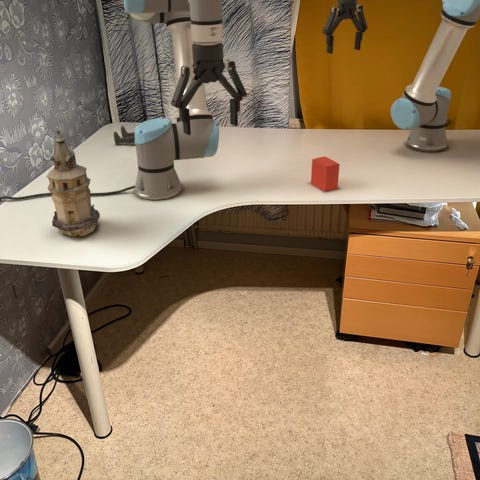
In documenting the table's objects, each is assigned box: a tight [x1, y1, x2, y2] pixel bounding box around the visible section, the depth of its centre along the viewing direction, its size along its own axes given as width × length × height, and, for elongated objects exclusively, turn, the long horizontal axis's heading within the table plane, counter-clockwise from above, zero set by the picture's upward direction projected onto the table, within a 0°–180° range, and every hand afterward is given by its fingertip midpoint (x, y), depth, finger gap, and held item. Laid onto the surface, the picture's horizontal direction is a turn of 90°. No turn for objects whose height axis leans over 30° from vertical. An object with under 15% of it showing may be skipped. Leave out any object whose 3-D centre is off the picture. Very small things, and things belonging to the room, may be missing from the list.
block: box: [310, 155, 341, 192], centre depth 178 cm, size 5×8×9 cm, turn 29°
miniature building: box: [46, 129, 101, 237], centre depth 148 cm, size 13×14×30 cm
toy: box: [113, 125, 135, 146], centre depth 218 cm, size 26×6×30 cm
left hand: (211, 129), depth 138 cm, fingers open, 13 cm apart
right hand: (343, 51), depth 212 cm, fingers open, 13 cm apart
